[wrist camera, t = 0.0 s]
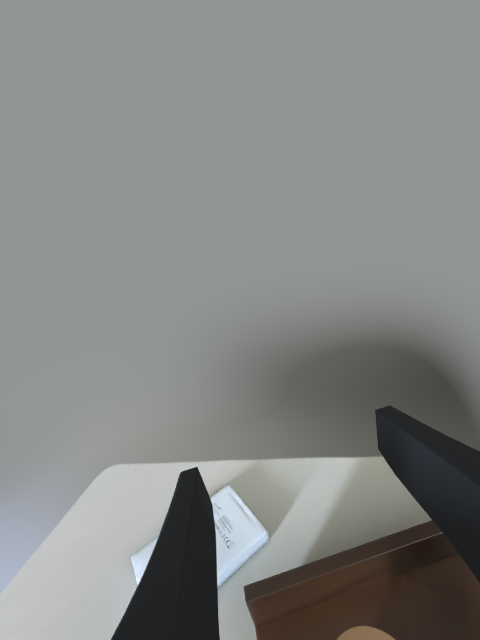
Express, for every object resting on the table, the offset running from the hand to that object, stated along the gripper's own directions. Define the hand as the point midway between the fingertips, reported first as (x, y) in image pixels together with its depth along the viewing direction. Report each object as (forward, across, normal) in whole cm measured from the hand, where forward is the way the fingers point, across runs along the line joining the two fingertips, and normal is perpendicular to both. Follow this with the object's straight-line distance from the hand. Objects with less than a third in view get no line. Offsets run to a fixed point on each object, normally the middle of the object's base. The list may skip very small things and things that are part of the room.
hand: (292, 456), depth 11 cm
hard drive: (+12, +10, +23) cm, 28 cm away
